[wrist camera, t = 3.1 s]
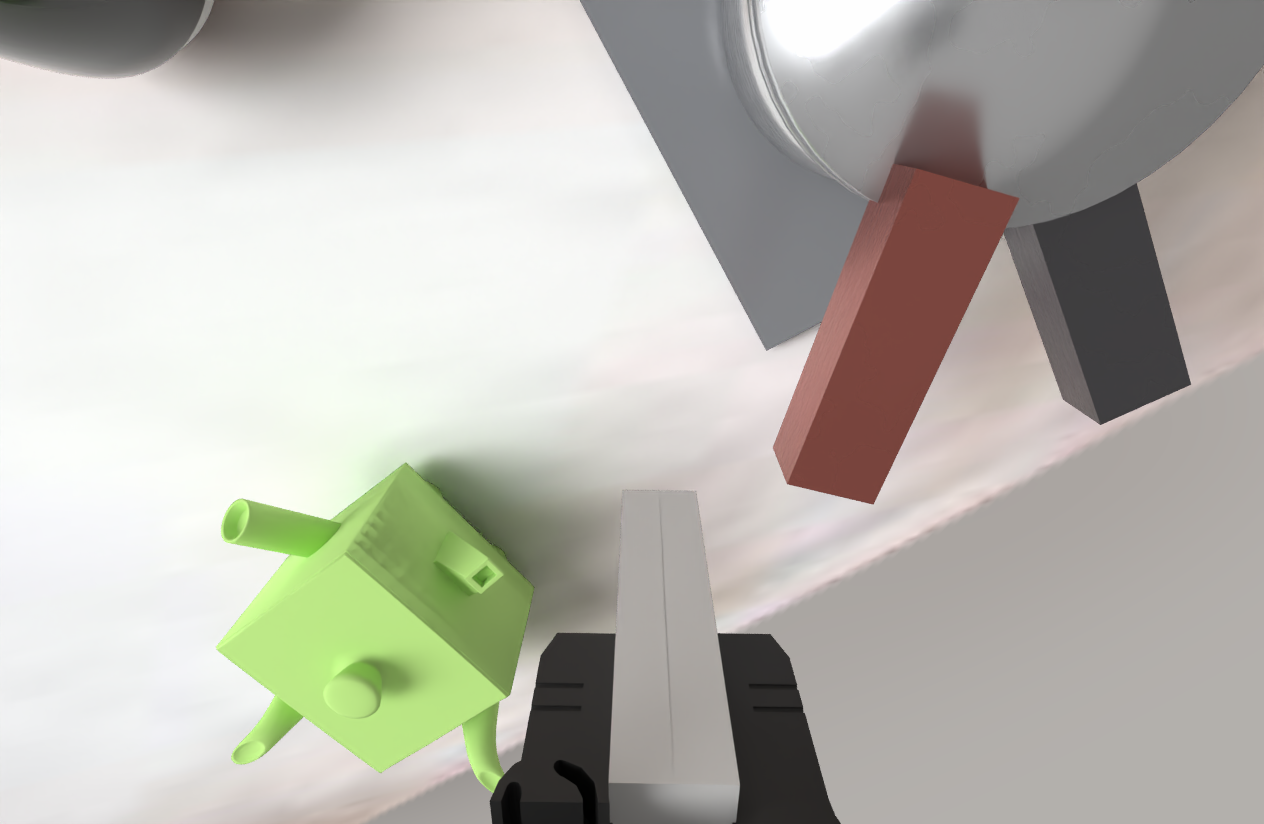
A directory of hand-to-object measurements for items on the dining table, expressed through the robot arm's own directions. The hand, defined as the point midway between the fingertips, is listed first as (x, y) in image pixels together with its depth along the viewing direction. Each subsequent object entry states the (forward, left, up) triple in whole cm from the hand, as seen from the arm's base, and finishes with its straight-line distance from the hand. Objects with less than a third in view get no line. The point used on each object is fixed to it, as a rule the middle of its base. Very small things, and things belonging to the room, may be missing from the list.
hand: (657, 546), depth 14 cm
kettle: (+20, +7, -22) cm, 31 cm away
